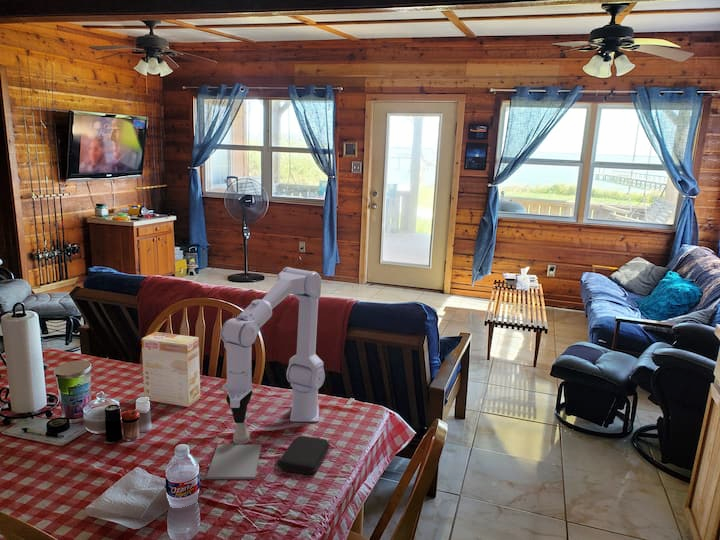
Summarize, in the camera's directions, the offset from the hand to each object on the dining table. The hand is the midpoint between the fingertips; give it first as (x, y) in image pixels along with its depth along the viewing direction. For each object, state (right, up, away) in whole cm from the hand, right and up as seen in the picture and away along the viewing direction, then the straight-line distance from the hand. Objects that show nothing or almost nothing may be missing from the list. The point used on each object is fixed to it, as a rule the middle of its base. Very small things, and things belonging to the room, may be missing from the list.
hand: (239, 421), depth 131 cm
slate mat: (-1, -10, +1) cm, 10 cm away
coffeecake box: (-27, -3, +33) cm, 43 cm away
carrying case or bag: (+15, -11, +4) cm, 19 cm away
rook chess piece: (-2, -8, +11) cm, 14 cm away
